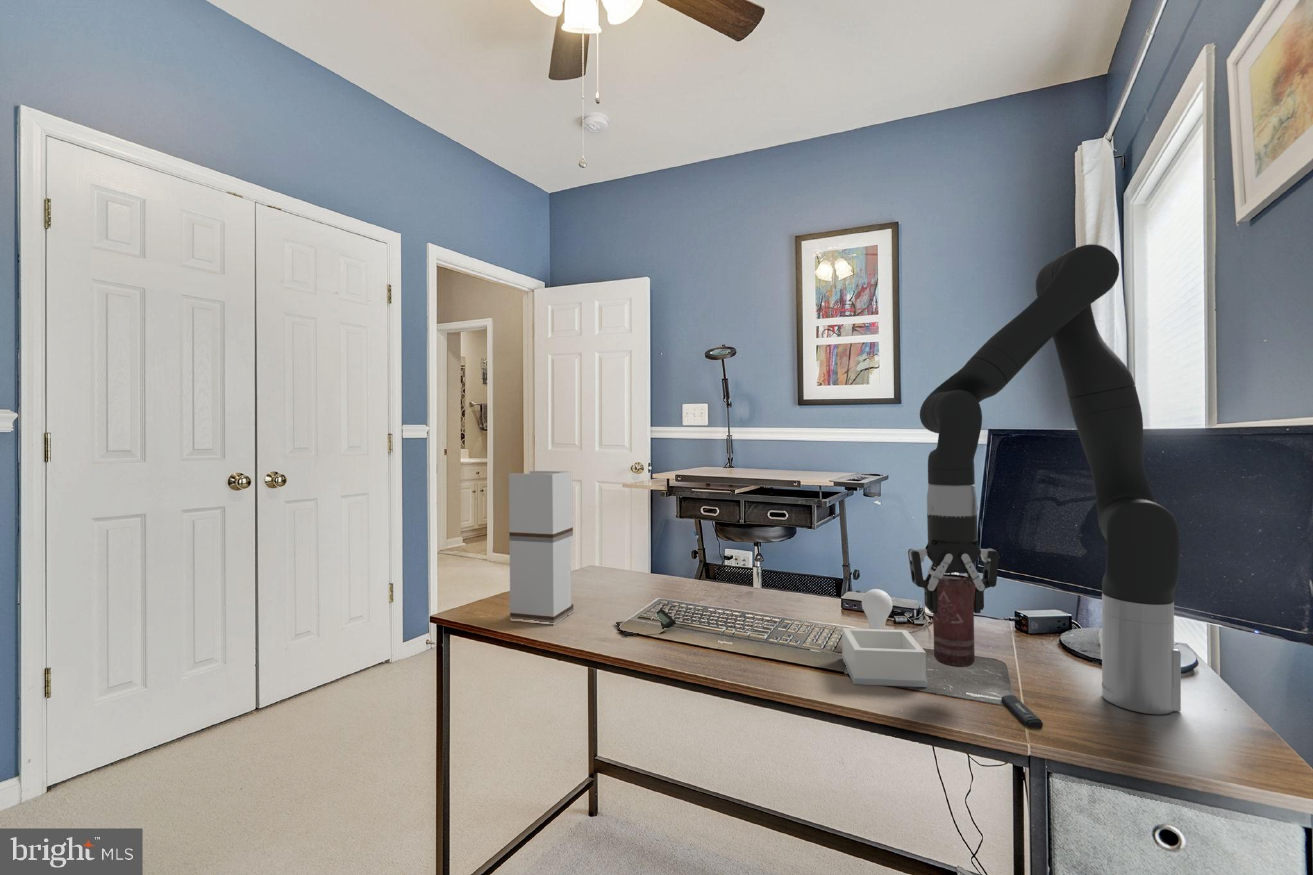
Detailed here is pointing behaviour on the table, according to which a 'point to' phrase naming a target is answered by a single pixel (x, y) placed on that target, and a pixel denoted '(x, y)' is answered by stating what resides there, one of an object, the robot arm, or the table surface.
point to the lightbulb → (877, 608)
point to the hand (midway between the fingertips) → (953, 611)
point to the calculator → (665, 621)
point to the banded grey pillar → (540, 545)
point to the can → (954, 621)
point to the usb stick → (1022, 711)
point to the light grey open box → (883, 657)
